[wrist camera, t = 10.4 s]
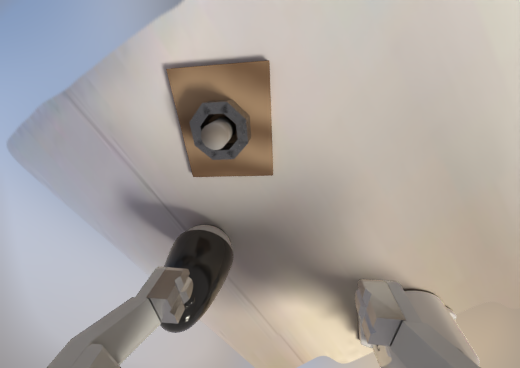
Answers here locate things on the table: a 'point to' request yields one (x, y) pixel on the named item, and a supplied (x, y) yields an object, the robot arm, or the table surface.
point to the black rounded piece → (200, 269)
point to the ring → (232, 113)
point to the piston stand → (220, 126)
